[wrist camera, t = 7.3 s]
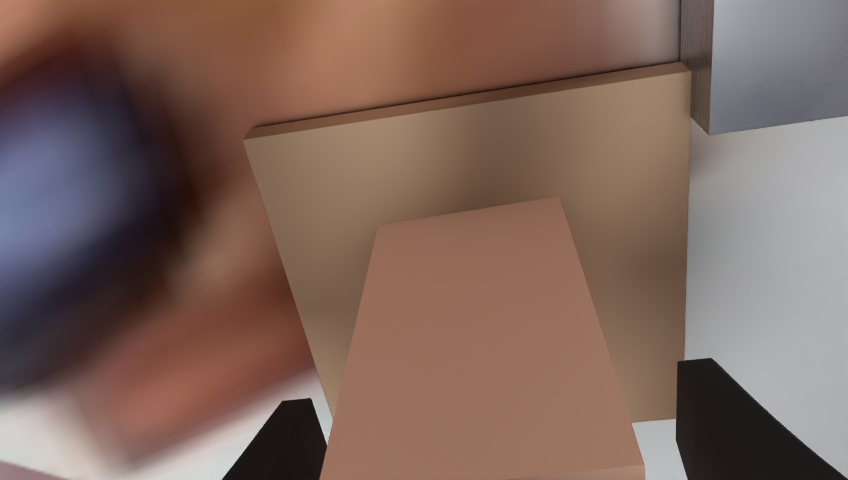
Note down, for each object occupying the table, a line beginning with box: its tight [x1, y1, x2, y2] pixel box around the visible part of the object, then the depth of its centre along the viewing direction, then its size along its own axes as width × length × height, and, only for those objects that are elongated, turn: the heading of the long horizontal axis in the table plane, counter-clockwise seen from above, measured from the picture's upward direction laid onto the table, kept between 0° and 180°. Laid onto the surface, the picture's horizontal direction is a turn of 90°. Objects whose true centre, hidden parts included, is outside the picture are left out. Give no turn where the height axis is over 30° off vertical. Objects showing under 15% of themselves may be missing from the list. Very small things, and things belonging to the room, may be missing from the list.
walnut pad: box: [243, 62, 692, 423], centre depth 17 cm, size 10×10×1 cm
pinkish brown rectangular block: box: [320, 196, 645, 480], centre depth 13 cm, size 4×4×8 cm
